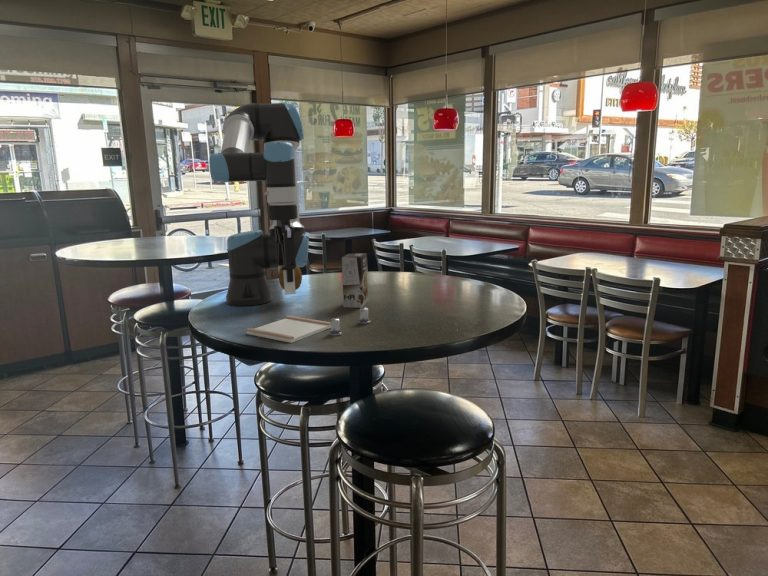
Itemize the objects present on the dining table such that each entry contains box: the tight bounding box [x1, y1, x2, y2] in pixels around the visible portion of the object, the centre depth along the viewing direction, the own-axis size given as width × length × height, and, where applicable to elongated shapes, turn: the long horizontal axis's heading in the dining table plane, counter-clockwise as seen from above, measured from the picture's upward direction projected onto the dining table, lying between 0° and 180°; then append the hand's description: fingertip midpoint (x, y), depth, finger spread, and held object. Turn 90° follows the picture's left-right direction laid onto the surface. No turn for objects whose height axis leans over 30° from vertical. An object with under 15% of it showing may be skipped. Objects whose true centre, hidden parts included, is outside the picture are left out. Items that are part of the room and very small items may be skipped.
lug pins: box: [328, 307, 372, 337], centre depth 150 cm, size 4×17×4 cm, turn 146°
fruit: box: [278, 263, 303, 291], centre depth 147 cm, size 6×6×8 cm
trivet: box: [246, 315, 331, 344], centre depth 149 cm, size 16×16×1 cm
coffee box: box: [341, 252, 369, 309], centre depth 176 cm, size 9×6×16 cm
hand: (287, 291), depth 147 cm, fingers closed on fruit, 6 cm apart
